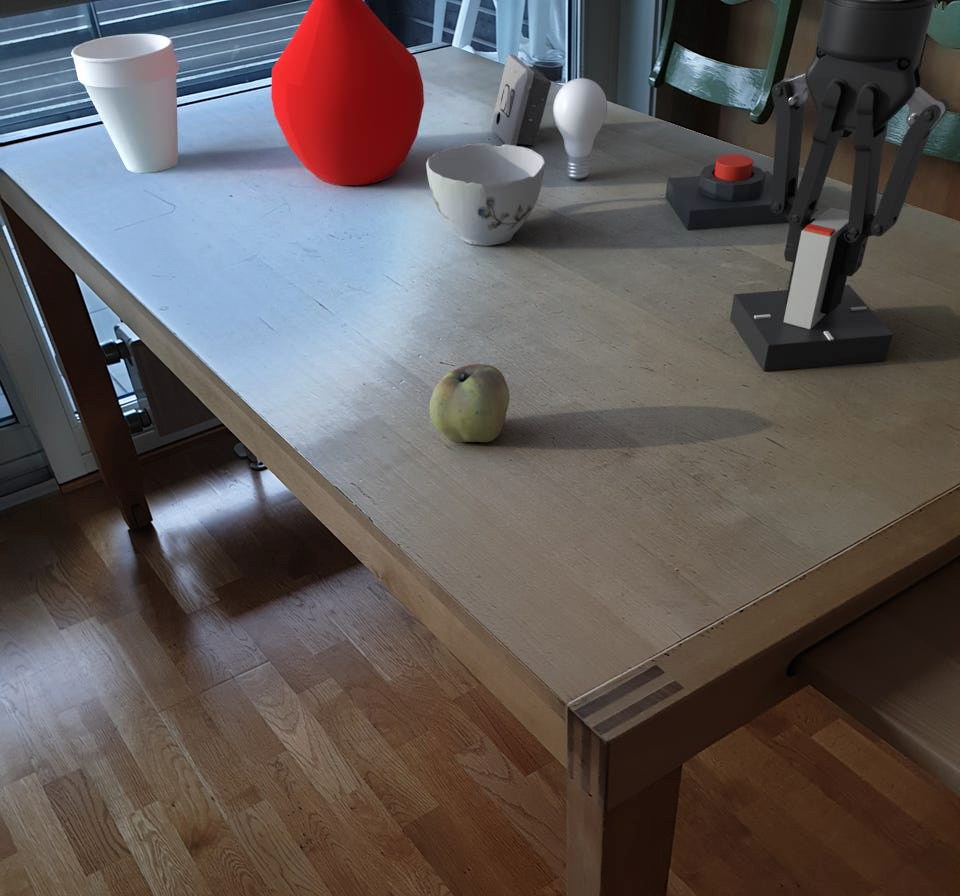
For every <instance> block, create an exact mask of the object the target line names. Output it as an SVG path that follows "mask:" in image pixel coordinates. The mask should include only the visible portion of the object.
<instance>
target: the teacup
mask: <svg viewBox="0 0 960 896" xmlns="http://www.w3.org/2000/svg"><path fill="white" fill-rule="evenodd" d="M425 165H426V174H427V181H428V184H429V189H430V191H431V195H432V198H433V201H434V203H435V205H436V207H437V210H438V212H439V213H440V215H441V217H442V218H443V219H444V221H445V222H446V224H447V225H448V226H449V227H450V228H451V229H452V230H453V231H454V232H455V233H456V234H457V235H459V237H460V239H461V240H462V241H463V242H465V243H466V244H469V245H475V246H485V247H486V246H488V247H489V246H490V247H491V246H493V245H499V244H505V243H507V242H509V241H510V242H511V240H512V238H513V237H514V234H515V233H517V232H518V231H519V230H520V229H521V227H522V226H523V225H524V224H525V223H526V221H527V220H528V218H529V217H530V215H531V214H532V212H533V210H534V208H535V206H536V203H537V201H538V198H539V196H540V193H541V188H542V183H543V180H544V175H545V167H546V161H545V158H544V156H542V155H541V154H540V153H538V152H536V151H535V150H534V149H530V148H528V147H525V146H519V145H516V146H514V145H507V144H505V143H504V144H502V145H495V144H492V143H468V144H463V145H460V146H457V147H451V148H447V149H445V150H439V151H436V152H435V153H433V155H432V156H429V157H428V158H427V161H426V163H425Z"/></svg>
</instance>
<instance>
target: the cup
mask: <svg viewBox="0 0 960 896" xmlns="http://www.w3.org/2000/svg"><path fill="white" fill-rule="evenodd" d="M70 55H71V56H72V59H73V62H74V67H75V71H76V75H77V79H78V81H79V82H80V84H82V85H83V86H84V88H85V90H86V92H87V94H88V96H89V98H90V100H91V102H92V104H93V106H94V107H95V110H96V111H97V113H98V116H99V117H100V120H101V121H102V124H103V125H104V127H105V129H106V131H107V133H108V135H109V137H110V139H111V142H112V143H113V144H114V145H113V146H114V147H115V148H116V151H117V153H118V155H119V156H120V158H121V161H122V163H123V164H124V166H125V168H126V170H127V171H129V172H132V173H136V174H150V173H151V174H152V173H158V172H163V171H165V170H169V169H171V168H173V167H175V166H176V165H178V163H179V136H178V132H179V131H178V87H177V86H178V85H177V83H178V82H177V73H178V72H179V71H180V66H179V63H178V60H177V56H176V52H175V49H174V42H173V39H171V38H170V37H168V36H165V35H160V34H153V33H152V34H151V33H127V34H116V35H110V36H104V37H100V38H94V39H91V40H88V41H85V42H83V43H80V44H78V45H76V46H75V47H74V48H72V50H71V54H70Z"/></svg>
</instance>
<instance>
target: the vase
mask: <svg viewBox="0 0 960 896" xmlns="http://www.w3.org/2000/svg"><path fill="white" fill-rule="evenodd" d="M420 71H421V70H420V67H419V63H418V60H417V57H415V56H414V55H413V53H411V52H410V51H409V49H408V48H407V47H406V46H405V45H404V44H403V43H402V42H401V41H400V40H399V39H398V38H397V37H396V36H395V35H394V34H393V33H392V32H391V31H390V30H389V29H388V28H387V27H386V26H385V25H384V23H383V22H382V21H381V20H380V18H379V17H378V16H377V15H376V14H375V13H374V12H373V10H372V9H371V7H369V5H367V3H366V2H365V1H364V0H312V3H311V4H310V6H309V8H308V9H307V11H306V13H305V15H304V17H303V18H302V21H301V22H300V23H299V25H298V27H297V29H296V31H295V33H294V35H293V36H292V38H291V39H290V40H289V42H288V44H287V45H286V47H285V49H284V50H283V51H282V53H281V55H280V56H279V58H278V59H277V61H276V62H275V64H274V65H273V67H272V68H271V84H270V85H271V88H270V89H271V90H270V94H271V95H270V97H271V103H272V109H273V113H274V117H275V120H276V121H277V123H278V125H279V128H280V130H281V132H282V134H283V136H284V138H285V140H286V142H287V144H288V147H289V148H290V150H291V151H292V152H293V153H294V154H295V155H296V157H297V158H298V160H299V161H300V162H301V163H302V164H303V166H304V167H305V168H306V169H307V170H308V171H309V172H311V174H313V175H314V176H315V177H317V179H319V180H321V181H323V182H325V183H327V184H332V185H336V184H337V186H345V185H355V186H364V185H370V183H371V184H374V183H375V184H376V183H378V182H381V181H384V180H387V179H388V178H390V177H392V176H393V175H395V173H396V172H397V171H398V170H399V169H400V167H401V166H402V165H403V164H404V163H405V161H406V160H407V157H408V156H409V153H410V151H411V150H412V147H413V145H414V143H415V141H416V138H417V137H418V133H419V128H420V125H421V124H420V123H421V120H422V115H423V110H424V106H425V97H424V95H425V93H424V91H425V90H424V83H423V79H422V74H421V72H420Z"/></svg>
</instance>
